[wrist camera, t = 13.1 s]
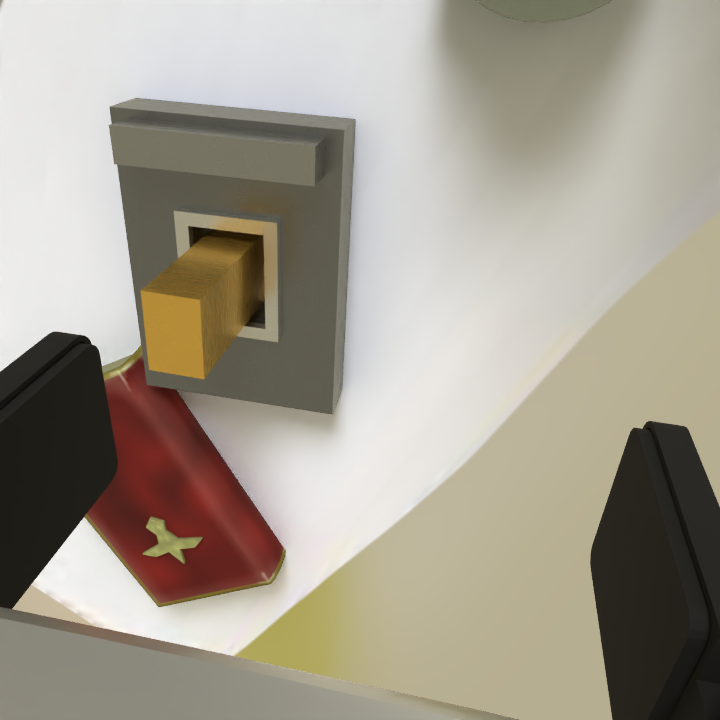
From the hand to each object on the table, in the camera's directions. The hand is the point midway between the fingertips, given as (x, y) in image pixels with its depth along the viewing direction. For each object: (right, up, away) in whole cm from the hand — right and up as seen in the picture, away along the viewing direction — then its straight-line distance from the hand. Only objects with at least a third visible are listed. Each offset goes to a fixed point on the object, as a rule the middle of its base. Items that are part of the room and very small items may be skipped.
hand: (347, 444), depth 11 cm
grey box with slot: (-7, +8, +30) cm, 32 cm away
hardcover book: (-16, -7, +42) cm, 45 cm away
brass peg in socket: (-7, +8, +30) cm, 32 cm away
